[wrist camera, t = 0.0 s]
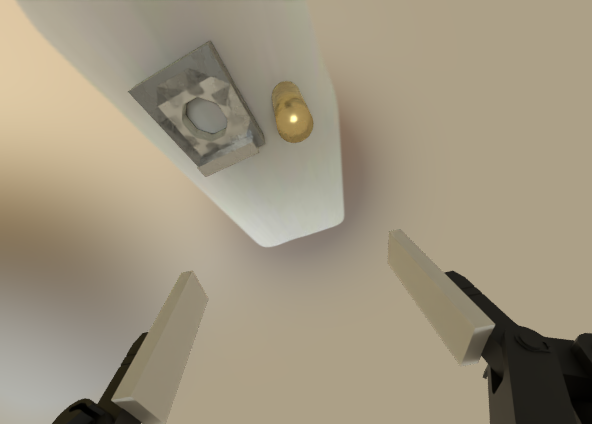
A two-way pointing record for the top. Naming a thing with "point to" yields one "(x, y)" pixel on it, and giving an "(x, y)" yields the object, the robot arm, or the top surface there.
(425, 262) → the robot arm
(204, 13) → the top surface
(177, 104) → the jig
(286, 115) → the brass rounded cylinder
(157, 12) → the top surface
